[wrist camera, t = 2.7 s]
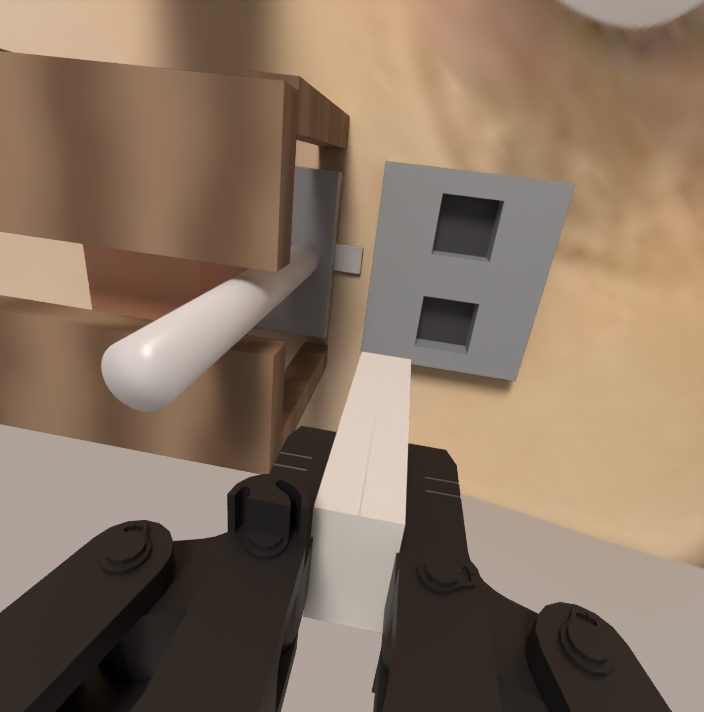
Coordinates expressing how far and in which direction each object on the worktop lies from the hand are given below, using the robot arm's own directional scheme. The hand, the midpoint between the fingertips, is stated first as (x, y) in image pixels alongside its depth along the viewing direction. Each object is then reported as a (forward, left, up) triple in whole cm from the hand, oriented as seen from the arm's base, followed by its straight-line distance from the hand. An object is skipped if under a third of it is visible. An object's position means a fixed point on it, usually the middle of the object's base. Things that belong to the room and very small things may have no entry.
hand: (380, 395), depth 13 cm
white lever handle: (+13, 0, -21) cm, 25 cm away
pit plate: (-4, 0, -21) cm, 21 cm away
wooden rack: (+21, 0, -21) cm, 30 cm away
